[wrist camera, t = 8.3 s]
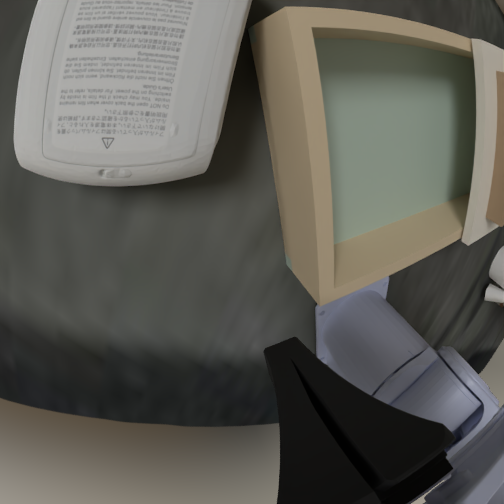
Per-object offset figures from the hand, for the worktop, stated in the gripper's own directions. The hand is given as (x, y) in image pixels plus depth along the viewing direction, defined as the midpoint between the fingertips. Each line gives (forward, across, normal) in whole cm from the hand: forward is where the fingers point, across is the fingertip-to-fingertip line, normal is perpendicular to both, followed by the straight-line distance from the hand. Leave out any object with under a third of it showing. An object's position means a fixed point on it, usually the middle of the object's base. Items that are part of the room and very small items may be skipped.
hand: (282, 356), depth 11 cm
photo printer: (+7, 0, -18) cm, 20 cm away
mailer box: (+9, -17, -5) cm, 20 cm away
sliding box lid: (+4, -31, -5) cm, 31 cm away
